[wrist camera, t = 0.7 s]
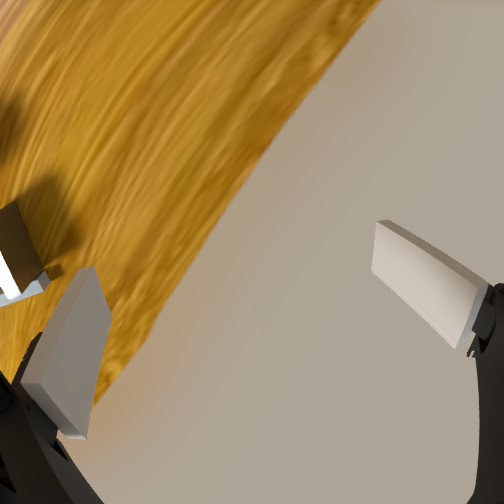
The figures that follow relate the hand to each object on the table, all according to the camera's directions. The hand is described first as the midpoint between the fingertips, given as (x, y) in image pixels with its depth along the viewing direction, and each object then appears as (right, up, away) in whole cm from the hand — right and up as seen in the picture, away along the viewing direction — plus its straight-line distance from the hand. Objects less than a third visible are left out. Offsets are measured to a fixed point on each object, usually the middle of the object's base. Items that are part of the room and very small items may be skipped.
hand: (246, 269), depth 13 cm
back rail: (-42, -6, +22) cm, 48 cm away
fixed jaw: (-34, +3, +20) cm, 39 cm away
